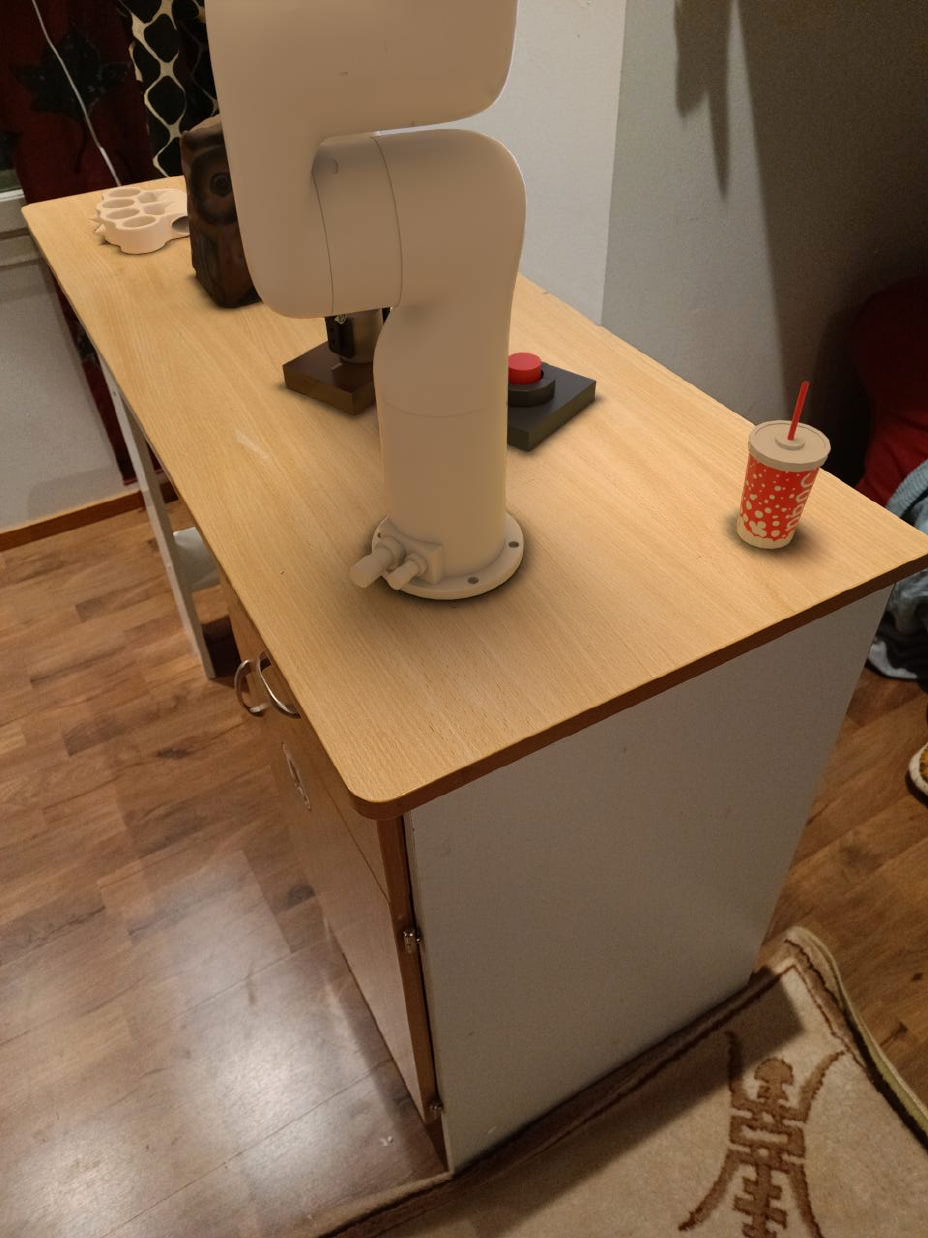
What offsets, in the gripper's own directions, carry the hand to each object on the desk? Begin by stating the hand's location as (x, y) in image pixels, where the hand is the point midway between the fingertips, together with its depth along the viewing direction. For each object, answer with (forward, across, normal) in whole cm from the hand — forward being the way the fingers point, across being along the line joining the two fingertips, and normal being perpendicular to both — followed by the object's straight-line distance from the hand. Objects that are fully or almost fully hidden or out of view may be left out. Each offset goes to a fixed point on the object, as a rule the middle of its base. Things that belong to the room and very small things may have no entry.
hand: (361, 341), depth 92 cm
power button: (0, +4, -18) cm, 18 cm away
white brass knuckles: (+4, +13, +54) cm, 56 cm away
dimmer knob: (+1, 0, 0) cm, 1 cm away
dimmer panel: (+4, 0, 0) cm, 4 cm away
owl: (+4, +8, +29) cm, 30 cm away
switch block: (+4, +4, -18) cm, 19 cm away
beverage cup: (+4, 0, -46) cm, 46 cm away
